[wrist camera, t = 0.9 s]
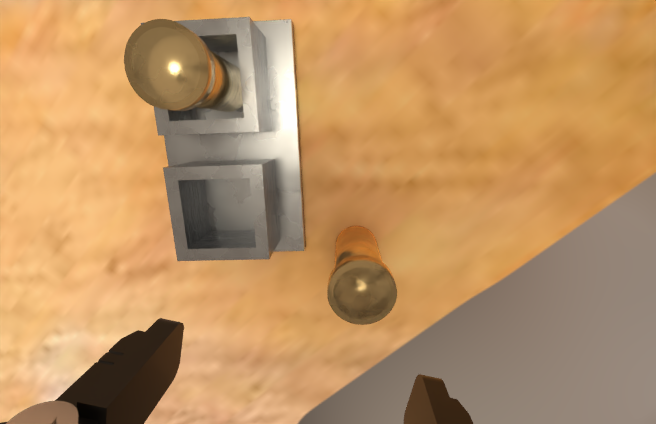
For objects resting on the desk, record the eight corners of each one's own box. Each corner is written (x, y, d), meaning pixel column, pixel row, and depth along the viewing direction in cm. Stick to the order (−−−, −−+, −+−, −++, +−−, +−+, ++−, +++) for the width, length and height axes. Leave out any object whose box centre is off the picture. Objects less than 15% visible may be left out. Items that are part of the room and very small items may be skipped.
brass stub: (380, 221, 32) (397, 260, 22) (380, 267, 33) (396, 324, 24) (330, 222, 32) (326, 262, 23) (332, 268, 34) (328, 324, 24)
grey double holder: (293, 23, 28) (262, -42, 18) (305, 246, 33) (287, 303, 22) (155, 31, 29) (43, -29, 18) (187, 249, 34) (113, 305, 23)
